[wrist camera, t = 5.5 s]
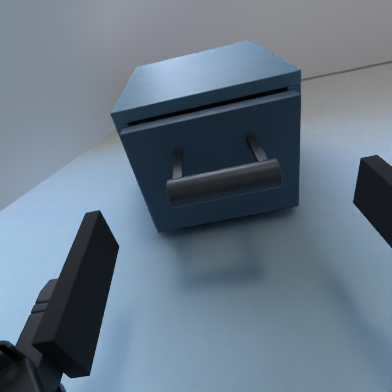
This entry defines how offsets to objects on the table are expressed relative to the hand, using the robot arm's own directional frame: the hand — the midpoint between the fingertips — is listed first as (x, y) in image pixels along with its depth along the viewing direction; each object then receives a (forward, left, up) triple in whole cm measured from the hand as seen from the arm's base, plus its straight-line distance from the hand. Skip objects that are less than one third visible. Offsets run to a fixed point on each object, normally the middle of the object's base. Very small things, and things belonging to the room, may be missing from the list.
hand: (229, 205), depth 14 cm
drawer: (-6, +8, -6) cm, 12 cm away
